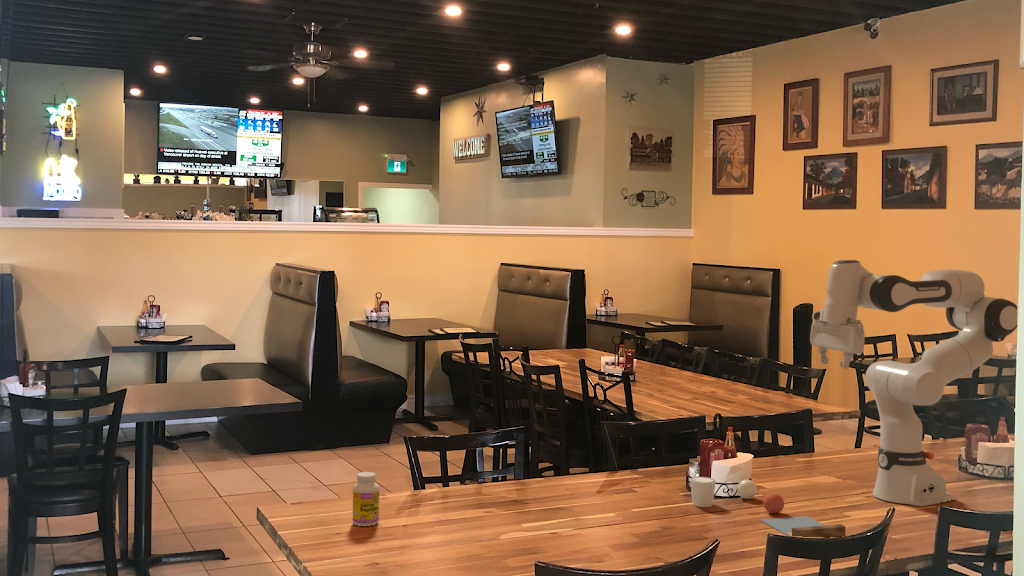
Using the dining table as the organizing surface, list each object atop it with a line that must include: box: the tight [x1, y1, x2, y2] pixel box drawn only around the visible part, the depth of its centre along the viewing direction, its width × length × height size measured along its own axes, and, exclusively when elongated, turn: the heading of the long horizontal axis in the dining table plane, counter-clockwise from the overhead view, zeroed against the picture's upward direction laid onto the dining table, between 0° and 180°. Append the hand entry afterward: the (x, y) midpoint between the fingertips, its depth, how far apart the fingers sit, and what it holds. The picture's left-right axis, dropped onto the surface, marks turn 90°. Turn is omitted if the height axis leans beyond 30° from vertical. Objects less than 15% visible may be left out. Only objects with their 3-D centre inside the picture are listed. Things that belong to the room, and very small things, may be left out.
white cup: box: [690, 476, 717, 508], centre depth 254 cm, size 7×7×7 cm
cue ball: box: [737, 479, 758, 500], centre depth 260 cm, size 5×5×5 cm
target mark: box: [760, 515, 825, 536], centre depth 235 cm, size 14×14×1 cm
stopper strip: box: [792, 523, 846, 538], centre depth 227 cm, size 14×2×2 cm, turn 106°
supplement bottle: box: [352, 471, 380, 526], centre depth 233 cm, size 7×7×13 cm
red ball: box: [763, 492, 785, 514], centre depth 246 cm, size 5×5×5 cm
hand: (833, 366), depth 255 cm, fingers open, 8 cm apart
